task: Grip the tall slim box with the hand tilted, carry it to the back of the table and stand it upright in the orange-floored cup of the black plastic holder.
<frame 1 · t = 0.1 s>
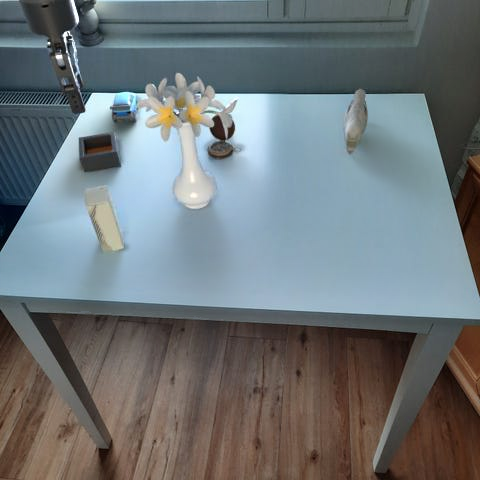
hand: (78, 100, 81), 24 cm above the table, tool pointing down, fingers open, 8 cm apart
decorative bird: (352, 136, 113), on the table
toy car: (127, 115, 124), on the table
box: (115, 247, 94), on the table
compass: (225, 151, 112), on the table
holder: (102, 159, 112), on the table
flower vase: (199, 199, 102), on the table
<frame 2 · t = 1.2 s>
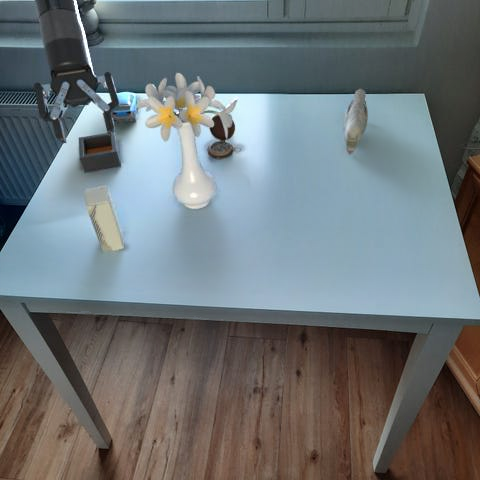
hand: (87, 138, 87), 17 cm above the table, tool tilted 45°, fingers open, 8 cm apart
nothing on the table moved.
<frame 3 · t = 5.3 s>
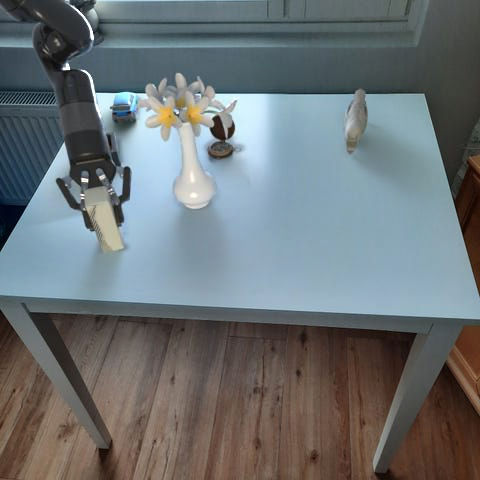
hand: (106, 228, 87), 7 cm above the table, tool tilted 45°, fingers closed on box, 4 cm apart
box: (115, 247, 94), on the table, touching gripper
everything else where it was.
when the fingers open (8 cm above the table, at t = 16.1 s): box stays where it is, resting on holder.
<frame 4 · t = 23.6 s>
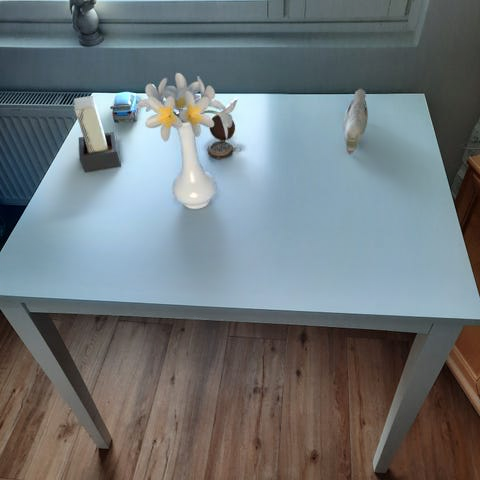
box: (100, 155, 111), point 1 cm above the table, touching holder
everything else where it was.
at the end: box 0.2 cm off-centre in the holder, point 1.0 cm above the holder's base; box tilted 0°; the gripper is holding nothing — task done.
